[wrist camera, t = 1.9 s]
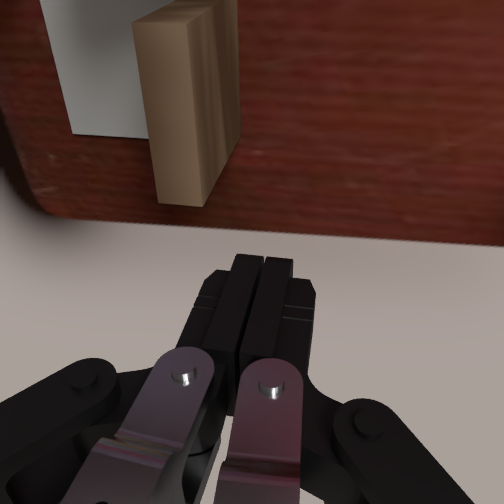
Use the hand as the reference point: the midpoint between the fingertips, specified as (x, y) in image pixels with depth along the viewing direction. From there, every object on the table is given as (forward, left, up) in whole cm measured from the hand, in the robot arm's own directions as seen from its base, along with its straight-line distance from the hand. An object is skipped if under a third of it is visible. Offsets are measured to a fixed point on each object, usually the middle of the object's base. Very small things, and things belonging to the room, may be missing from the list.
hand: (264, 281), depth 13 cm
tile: (+6, 0, -21) cm, 22 cm away
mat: (+13, 0, -21) cm, 25 cm away
